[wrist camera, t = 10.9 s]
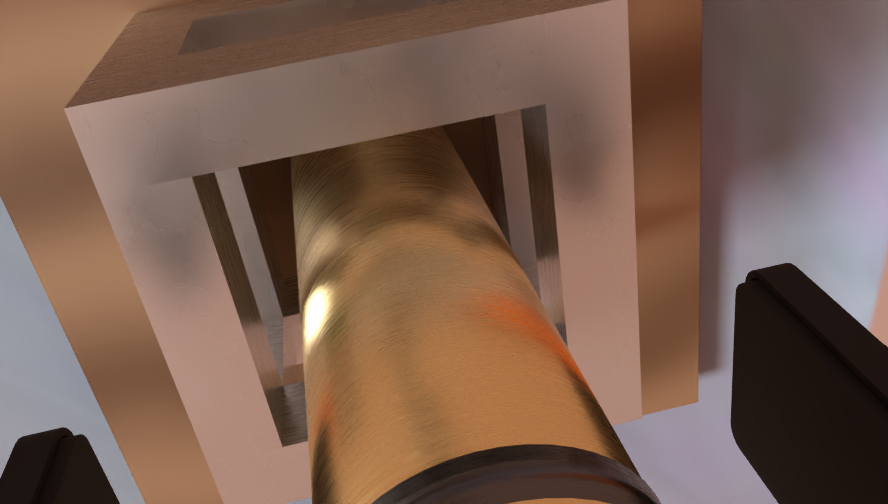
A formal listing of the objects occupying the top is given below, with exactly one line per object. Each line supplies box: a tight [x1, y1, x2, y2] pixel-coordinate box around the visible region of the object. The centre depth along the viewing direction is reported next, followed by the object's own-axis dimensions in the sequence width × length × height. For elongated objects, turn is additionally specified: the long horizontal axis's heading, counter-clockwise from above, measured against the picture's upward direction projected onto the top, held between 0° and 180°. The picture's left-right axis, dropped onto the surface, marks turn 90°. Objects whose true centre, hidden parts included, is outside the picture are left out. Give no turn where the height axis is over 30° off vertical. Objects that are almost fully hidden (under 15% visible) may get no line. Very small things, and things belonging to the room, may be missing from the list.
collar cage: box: [64, 0, 642, 504], centre depth 18 cm, size 9×9×7 cm
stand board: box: [0, 0, 702, 504], centre depth 21 cm, size 22×18×1 cm
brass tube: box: [290, 125, 661, 504], centre depth 14 cm, size 4×4×15 cm
